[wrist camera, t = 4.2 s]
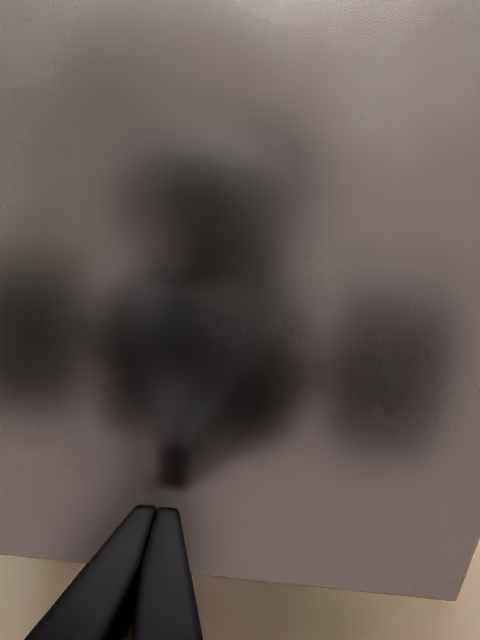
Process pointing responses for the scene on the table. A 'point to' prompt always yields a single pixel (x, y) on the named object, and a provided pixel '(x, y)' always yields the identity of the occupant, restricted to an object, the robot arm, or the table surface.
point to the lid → (244, 284)
